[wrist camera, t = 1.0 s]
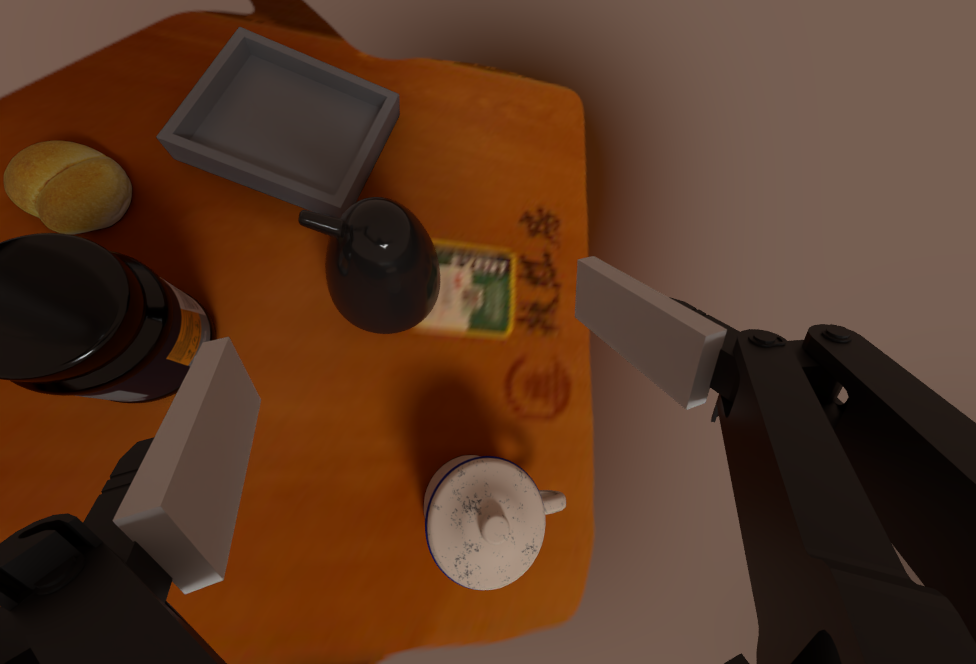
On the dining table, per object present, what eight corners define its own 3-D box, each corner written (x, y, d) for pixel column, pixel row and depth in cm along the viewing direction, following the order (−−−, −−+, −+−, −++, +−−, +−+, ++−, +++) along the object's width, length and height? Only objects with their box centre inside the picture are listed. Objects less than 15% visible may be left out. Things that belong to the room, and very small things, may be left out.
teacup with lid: (424, 564, 35) (432, 623, 24) (417, 458, 37) (422, 467, 26) (549, 540, 37) (610, 584, 26) (536, 443, 39) (587, 445, 28)
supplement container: (229, 294, 37) (152, 231, 26) (210, 405, 34) (115, 388, 23) (100, 287, 35) (-45, 216, 24) (70, 405, 32) (-111, 387, 21)
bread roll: (87, 253, 36) (50, 231, 32) (6, 197, 36) (-41, 168, 32) (159, 194, 39) (133, 168, 35) (84, 142, 38) (49, 110, 35)
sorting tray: (174, 158, 40) (156, 137, 37) (249, 52, 45) (239, 26, 42) (344, 223, 41) (340, 208, 39) (399, 115, 46) (399, 94, 44)
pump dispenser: (340, 245, 41) (304, 140, 26) (439, 256, 43) (456, 164, 28) (327, 339, 38) (279, 279, 24) (433, 346, 40) (449, 295, 26)
